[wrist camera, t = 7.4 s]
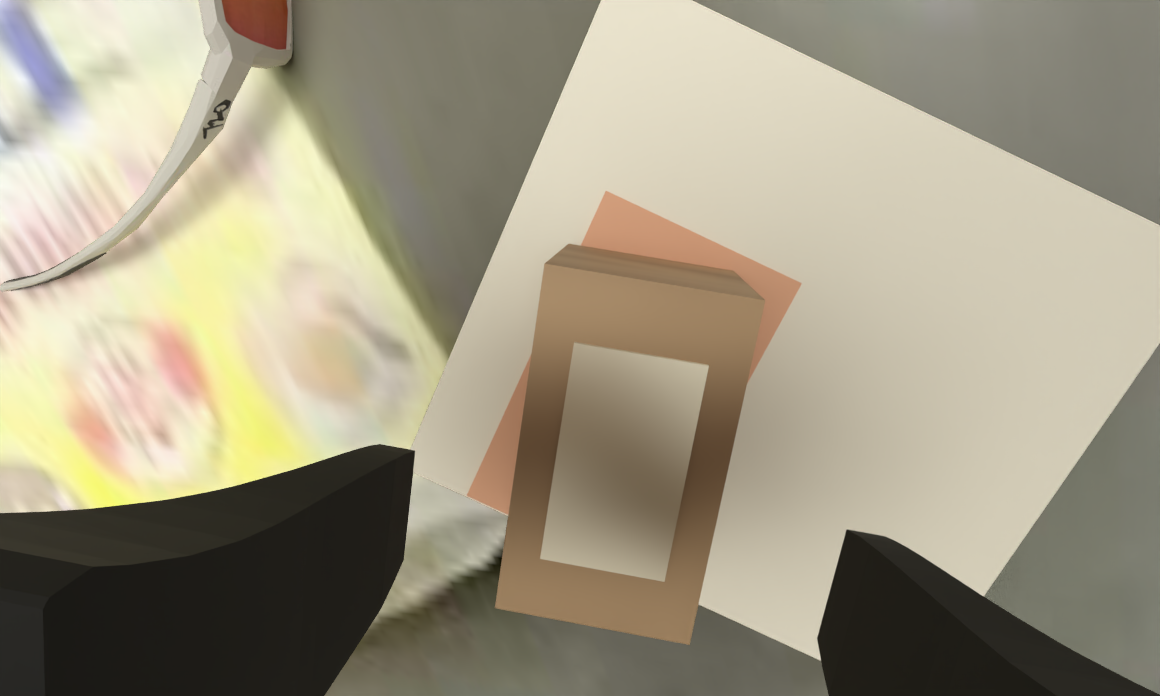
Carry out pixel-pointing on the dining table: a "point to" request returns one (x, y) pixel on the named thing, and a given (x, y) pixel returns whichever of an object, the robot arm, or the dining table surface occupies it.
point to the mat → (820, 304)
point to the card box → (626, 439)
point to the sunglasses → (199, 108)
